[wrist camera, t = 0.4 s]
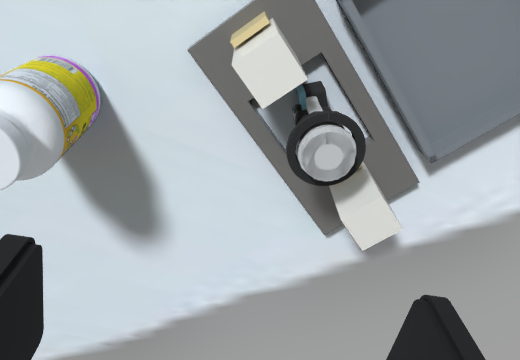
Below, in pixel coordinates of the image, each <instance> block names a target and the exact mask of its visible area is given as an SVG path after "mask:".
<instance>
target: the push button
mask: <svg viewBox="0 0 520 360" xmlns="http://www.w3.org/2000/svg"><path fill="white" fill-rule="evenodd" d="M296 90H297V94H298V100H299V104H297V105H295V106H296V113H294V110H293V108H292V111H293V117H294V122H295V125H296V127H295V128H294V129H293V131H292V132H291V134H290V136H289V139H288V142H287V147H286V153H287V159H288V163H289V166H290V168H291V169H292V171H293V172H294V174H295V175H296V176H297V177H299V178H300V179H301V180H303V181H304V182H306V183H309V184H312V185H316V186H330V185H335V184H338V183H340V182H343V181H345V180H346V179H348V178H349V177H351V176H352V175H353V174H354V173H355V172H356V171H357V170H358V168H359V167H360V165H361V164H362V162H363V159H364V156H365V152H366V142H365V138H364V135H363V132H362V131H361V129H360V127H359V126H358V125H357V123H356V122H355V121H353V120H352V119H351V118H349V117H348V116H346V115H344V114H341V113H339V112H337V111H331V109H330V107H329V104H328V103H327V98H326V91H325V88H324V86H323V84H322V82H321V81H318V82H313V83H308V84H303V85H299V86H297V87H296ZM343 125H344V126H345V127H347V128H348V129H349V130H350V131H351V133H352V136H351V134H350V133H349V132H347V131H346V130H345V129H344V127H343ZM297 142H298V143H297ZM296 145H297V146H298V157H297V156H296V154H295V150H296Z"/></svg>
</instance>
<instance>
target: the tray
mask: <svg viewBox="0 0 520 360" xmlns="http://www.w3.org/2000/svg"><path fill="white" fill-rule="evenodd" d="M337 1H338V3H339V4H340V6H341V8H342V10H343V12H344V13H345V15H346V17H347V19H348V21H349V22H350V24H351V26H352V28H353V30H354V32H355V33H356V35H357V37H358V39H359V41H360V42H361V44H362V46H363V48H364V50H365V51H366V53H367V55H368V57H369V59H370V60H371V62H372V64H373V66H374V68H375V69H376V71H377V73H378V75H379V77H380V78H381V80H382V82H383V84H384V86H385V88H386V89H387V91H388V93H389V95H390V97H391V98H392V100H393V102H394V104H395V106H396V107H397V109H398V111H399V113H400V115H401V116H402V118H403V120H404V122H405V124H406V125H407V127H408V129H409V131H410V133H411V134H412V136H413V138H414V140H415V142H416V143H417V145H418V147H419V149H420V151H421V152H422V153H423V154H424V156H425V157H426V158H427V159H428V160H429V161H430V162H431V163H433V162H435V161H436V160H438V159H440V158H442V157H443V156H445V155H447V154H449V153H451V152H452V151H454V150H456V149H458V148H459V147H461V146H463V145H465V144H467V143H468V142H470V141H472V140H474V139H476V138H477V137H479V136H481V135H483V134H484V133H486V132H488V131H490V130H492V129H493V128H495V127H497V126H499V125H500V124H502V123H504V122H506V121H508V120H509V119H511V118H513V117H515V116H517V115H518V114H520V0H337Z"/></svg>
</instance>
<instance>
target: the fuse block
mask: <svg viewBox="0 0 520 360" xmlns="http://www.w3.org/2000/svg"><path fill="white" fill-rule="evenodd" d="M188 52H189V53H190V54H191V56H192V57H193V58H194V60H195V61H196V62H197V64H198V65H199V66H200V68H201V69H202V70H203V72H204V73H205V74H206V76H207V77H208V79H209V80H210V81H211V83H212V84H213V85H214V87H215V88H216V89H217V91H218V92H219V93H220V95H221V96H222V97H223V99H224V100H225V101H226V103H227V104H228V106H229V107H230V108H231V110H232V111H233V112H234V114H235V115H236V116H237V118H238V119H239V120H240V122H241V123H242V124H243V126H244V127H245V128H246V130H247V131H248V132H249V134H250V135H251V137H252V138H253V139H254V141H255V142H256V143H257V145H258V146H259V147H260V149H261V150H262V151H263V153H264V154H265V155H266V157H267V158H268V159H269V161H270V162H271V163H272V165H273V166H274V168H275V169H276V170H277V172H278V173H279V174H280V176H281V177H282V178H283V180H284V181H285V182H286V184H287V185H288V186H289V188H290V189H291V190H292V192H293V193H294V195H295V196H296V197H297V199H298V200H299V201H300V203H301V204H302V205H303V207H304V208H305V209H306V211H307V212H308V213H309V215H310V216H311V217H312V219H313V220H314V221H315V223H316V224H317V226H318V227H319V228H320V230H321V231H322V232H323V234H324V235H325V234H327V233H329V232H331V231H333V230H334V229H336V228H338V227H340V226H342V225H343V224H344V225H345V227H346V228H347V229H348V231H349V232H350V234H351V235H352V237H353V238H354V239H355V241H356V242H357V244H358V245H359V246H360V248H361V249H362V251H363V250H365V249H367V248H369V247H371V246H373V245H375V244H377V243H378V242H380V241H382V240H384V239H386V238H388V237H390V236H392V235H394V234H395V233H397V232H399V231H401V230H403V228H402V227H401V225H400V223H399V221H398V220H397V218H396V216H395V214H394V212H393V211H392V209H391V207H390V205H389V204H388V202H387V200H389V199H390V198H392V197H394V196H396V195H398V194H399V193H401V192H403V191H405V190H407V189H408V188H410V187H412V186H414V185H416V184H417V183H419V180H418V178H417V177H416V175H415V173H414V171H413V170H412V168H411V166H410V165H409V163H408V161H407V159H406V158H405V156H404V154H403V152H402V151H401V149H400V147H399V145H398V144H397V142H396V140H395V139H394V137H393V135H392V133H391V132H390V130H389V128H388V126H387V125H386V123H385V121H384V119H383V118H382V116H381V114H380V112H379V111H378V109H377V107H376V106H375V104H374V102H373V100H372V99H371V97H370V95H369V93H368V92H367V90H366V88H365V86H364V85H363V83H362V81H361V79H360V78H359V76H358V74H357V73H356V71H355V69H354V67H353V66H352V64H351V62H350V60H349V59H348V57H347V55H346V53H345V52H344V50H343V48H342V47H341V45H340V43H339V41H338V40H337V38H336V36H335V34H334V33H333V31H332V29H331V27H330V26H329V24H328V22H327V20H326V19H325V17H324V15H323V14H322V12H321V10H320V8H319V7H318V5H317V3H316V1H315V0H253V1H251V2H250V3H249V4H247V5H246V6H245V7H243V8H242V9H241V10H239V11H238V12H237V13H235V14H234V15H232V16H231V17H230V18H228V19H227V20H226V21H224V22H223V23H222V24H220V25H219V26H218V27H216V28H215V29H214V30H212V31H211V32H209V33H208V34H207V35H205V36H204V37H203V38H201V39H200V40H199V41H197V42H196V43H195V44H193V45H192V46H191V47H189V49H188ZM319 53H322V55H323V56H324V58H325V60H326V61H327V63H328V64H329V66H330V68H331V69H332V71H333V73H334V74H335V76H336V78H337V79H338V81H339V83H340V84H341V86H342V88H343V89H344V91H345V93H346V94H347V96H348V98H349V99H350V101H351V103H352V104H353V106H354V108H355V109H356V111H357V113H358V114H359V116H360V118H361V119H362V121H363V123H364V124H365V126H366V128H367V129H368V131H369V133H370V134H371V136H369V137H367V138H366V139H365V142H366V152H365V156H364V159H363V162H362V164H361V165H360V167H359V168H358V170H357V171H356V172H355V173H354V174H353V175H352V176H351V177H349V178H348V179H346V180H345V181H343V182H340V183H338V184H335V185H330V186H316V185H312V184H309V183H306V182H304V181H303V180H301V179H300V178H299V177H297V176H296V175H295V174H294V172H293V171H292V169H291V168H290V166H289V163H288V159H287V153H286V150H285V149H284V147H283V146H282V144H281V143H280V142H279V140H278V139H277V137H276V136H275V135H274V133H273V132H272V130H271V129H270V128H269V126H268V125H267V123H266V122H265V121H264V119H263V118H262V116H261V115H260V114H259V112H258V111H257V109H256V108H255V107H254V105H253V104H252V102H251V101H250V100H251V99H252V98H255V99H256V101H257V102H258V103H259V105H260V106H261V108H262V109H264V108H265V107H267V106H268V105H270V104H271V103H273V102H275V101H276V100H278V99H279V98H281V97H282V96H284V95H285V94H287V93H288V92H290V91H291V90H293V89H294V88H296V87H297V86H299V85H300V84H302V83H303V82H305V81H306V80H308V78H307V76H306V74H305V72H304V70H303V68H302V66H301V65H303V64H304V63H306V62H307V61H309V60H310V59H312V58H313V57H315V56H316V55H318V54H319Z"/></svg>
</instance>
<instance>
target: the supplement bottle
mask: <svg viewBox="0 0 520 360" xmlns="http://www.w3.org/2000/svg"><path fill="white" fill-rule="evenodd" d="M99 110H100V93H99V89H98V86H97V84H96V82H95V80H94V79H93V77H92V76H91V75H90V73H89V72H88V71H87V70H86V69H85V68H84V67H82V66H81V65H80V64H78V63H77V62H75V61H73V60H71V59H69V58H66V57H63V56H58V55H45V56H40V57H37V58H34V59H32V60H30V61H28V62H26V63H24V64H21V65H19V66H17V67H15V68H13V69H11V70H9V71H7V72H5V73H3V74H1V75H0V190H2V189H5V188H7V187H9V186H10V185H12V184H13V183H14V182H15V181H16V180H27V179H32V178H35V177H37V176H40V175H42V174H43V173H45V172H46V171H48V170H49V169H50V168H51V167H52V166H53V165H54V164H55V163H56V162H57V161H58V160H59V159H60V158H61V157H62V156H63V155H64V154H65V153H66V151H67V150H68V149H69V148H70V147H71V146H72V145H73V144H74V143H75V142H76V141H77V140H78V139H79V138H80V137H81V136H82V134H83V133H84V132H85V131H86V130H87V129H88V128H89V127H90V126H91V124H92V123H93V122H94V121H95V119H96V117H97V115H98V113H99Z"/></svg>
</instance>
